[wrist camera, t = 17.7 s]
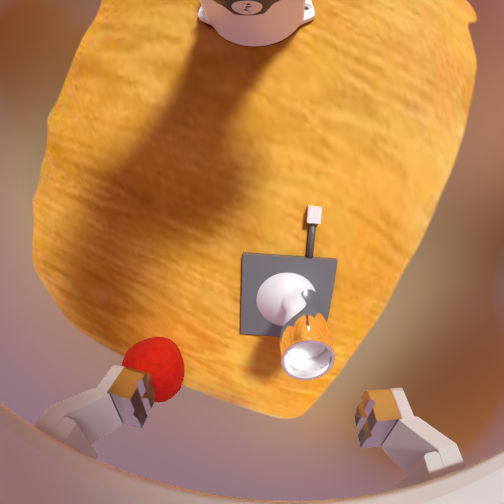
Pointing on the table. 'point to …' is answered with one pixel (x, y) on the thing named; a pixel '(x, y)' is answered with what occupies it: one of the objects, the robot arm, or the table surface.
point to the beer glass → (305, 336)
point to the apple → (158, 365)
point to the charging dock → (283, 283)
